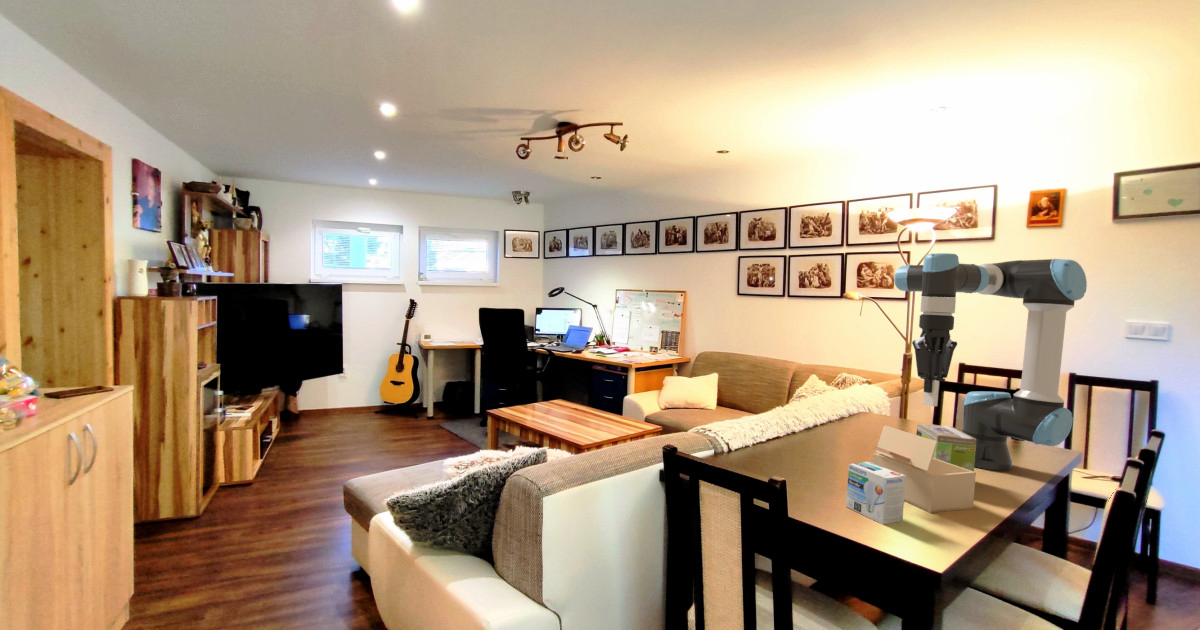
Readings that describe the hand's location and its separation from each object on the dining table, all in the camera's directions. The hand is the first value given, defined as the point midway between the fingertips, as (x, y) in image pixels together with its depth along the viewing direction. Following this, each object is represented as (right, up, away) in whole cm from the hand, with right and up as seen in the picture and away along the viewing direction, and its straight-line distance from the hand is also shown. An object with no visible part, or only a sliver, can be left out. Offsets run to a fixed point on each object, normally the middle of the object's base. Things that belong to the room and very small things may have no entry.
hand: (930, 405), depth 138 cm
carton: (-2, -24, +1) cm, 24 cm away
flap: (-7, -10, -2) cm, 13 cm away
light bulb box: (-21, -24, -12) cm, 34 cm away
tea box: (+12, -24, +14) cm, 30 cm away
